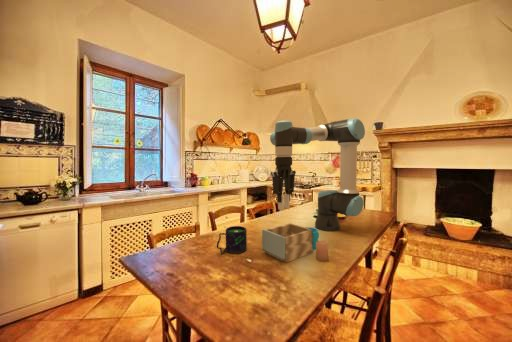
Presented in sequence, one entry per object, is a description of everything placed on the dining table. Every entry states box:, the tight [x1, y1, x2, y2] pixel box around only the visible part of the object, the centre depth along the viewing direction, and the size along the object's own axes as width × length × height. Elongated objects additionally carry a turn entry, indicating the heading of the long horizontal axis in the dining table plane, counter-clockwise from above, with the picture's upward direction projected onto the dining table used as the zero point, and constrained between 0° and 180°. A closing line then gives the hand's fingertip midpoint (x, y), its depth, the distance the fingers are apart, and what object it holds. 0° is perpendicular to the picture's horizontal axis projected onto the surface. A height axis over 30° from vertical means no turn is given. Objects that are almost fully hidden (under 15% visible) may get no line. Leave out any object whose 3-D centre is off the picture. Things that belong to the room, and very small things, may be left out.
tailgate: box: [261, 228, 285, 262], centre depth 100 cm, size 1×14×10 cm, turn 37°
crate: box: [265, 223, 314, 263], centre depth 106 cm, size 17×14×10 cm
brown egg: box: [315, 240, 329, 263], centre depth 98 cm, size 5×5×7 cm
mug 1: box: [216, 225, 248, 255], centre depth 108 cm, size 15×10×10 cm, turn 117°
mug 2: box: [307, 227, 320, 250], centre depth 114 cm, size 12×8×8 cm
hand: (283, 208), depth 103 cm, fingers open, 3 cm apart
